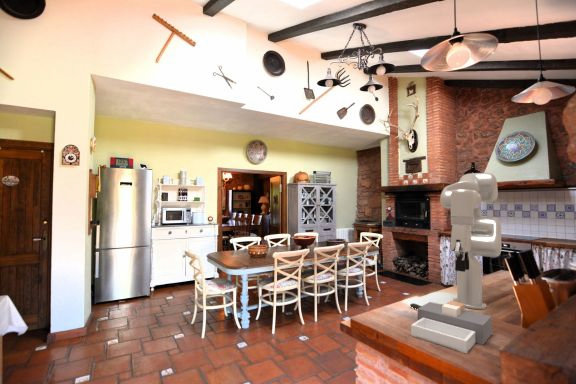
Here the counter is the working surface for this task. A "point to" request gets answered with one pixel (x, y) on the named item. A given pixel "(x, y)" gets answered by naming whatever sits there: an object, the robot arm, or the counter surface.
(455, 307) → the cream tile
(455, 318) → the block
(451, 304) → the terracotta tile
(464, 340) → the box
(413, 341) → the counter surface
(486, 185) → the robot arm
